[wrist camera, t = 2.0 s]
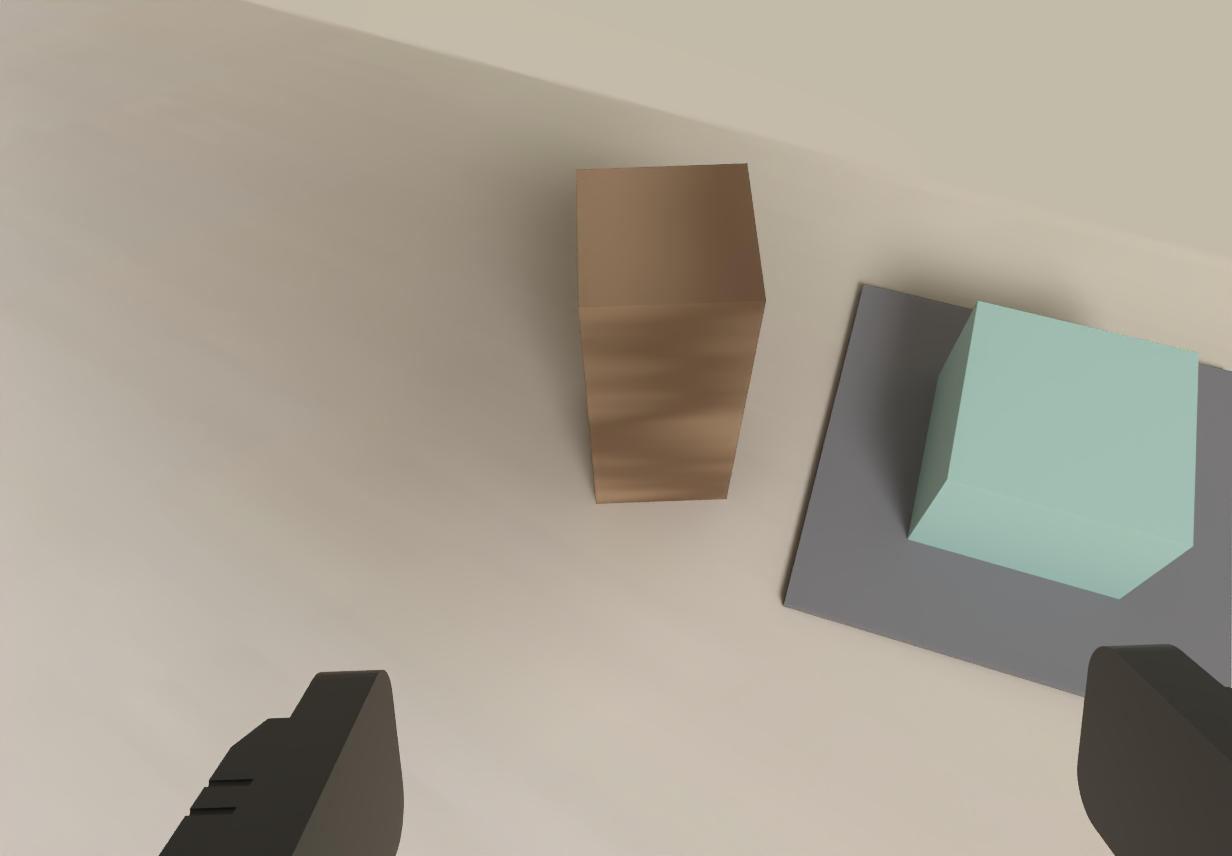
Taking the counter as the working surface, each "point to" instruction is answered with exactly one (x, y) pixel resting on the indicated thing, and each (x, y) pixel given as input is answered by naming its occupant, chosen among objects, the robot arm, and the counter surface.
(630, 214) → the pillar
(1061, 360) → the plinth
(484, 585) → the counter surface
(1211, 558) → the mat
